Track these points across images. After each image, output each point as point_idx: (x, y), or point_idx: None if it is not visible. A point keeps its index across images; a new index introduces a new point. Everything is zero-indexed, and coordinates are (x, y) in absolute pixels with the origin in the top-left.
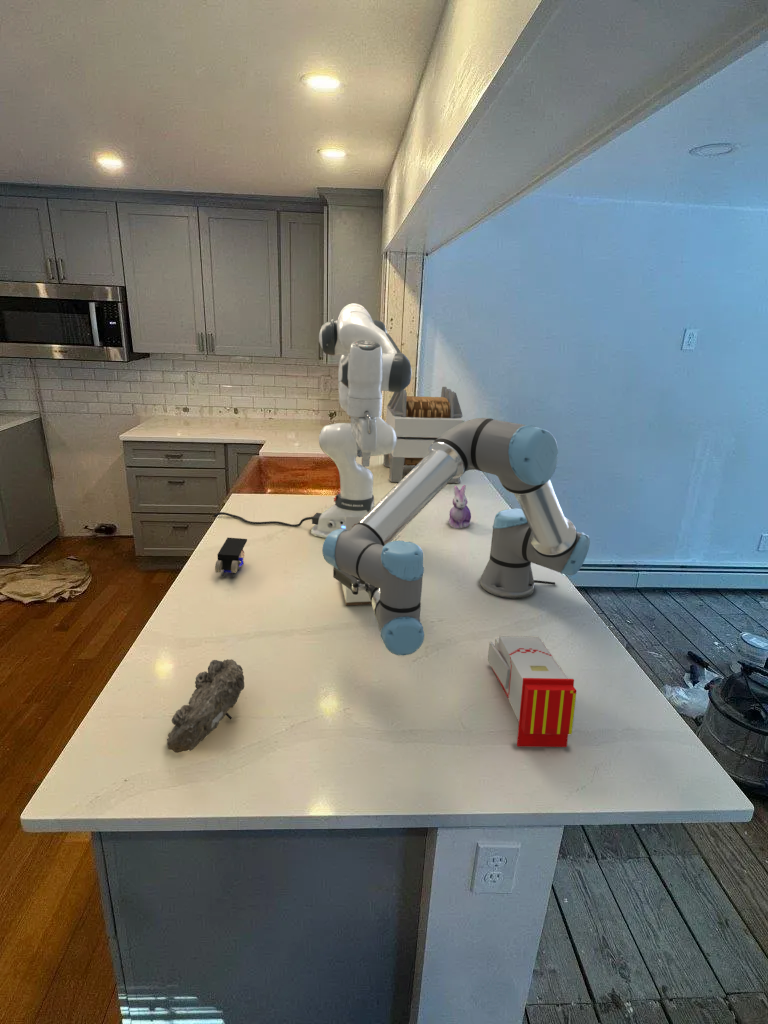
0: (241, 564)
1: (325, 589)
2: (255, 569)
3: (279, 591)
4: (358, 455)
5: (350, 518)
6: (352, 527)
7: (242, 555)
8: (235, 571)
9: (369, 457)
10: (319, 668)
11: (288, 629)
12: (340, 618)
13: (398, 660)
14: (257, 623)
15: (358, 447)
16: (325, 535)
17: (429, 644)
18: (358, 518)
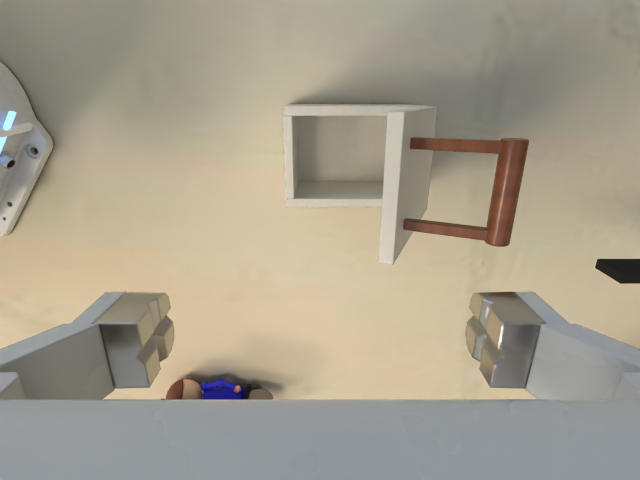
0: (228, 384)
1: (322, 222)
2: (222, 351)
3: (322, 309)
4: (169, 345)
5: (395, 244)
6: (416, 229)
7: (192, 387)
8: (271, 394)
9: (616, 347)
10: (601, 252)
11: (467, 295)
12: (451, 203)
13: (634, 108)
14: (435, 342)
15: (80, 394)
16: (19, 203)
17: (605, 22)
18: (397, 213)
